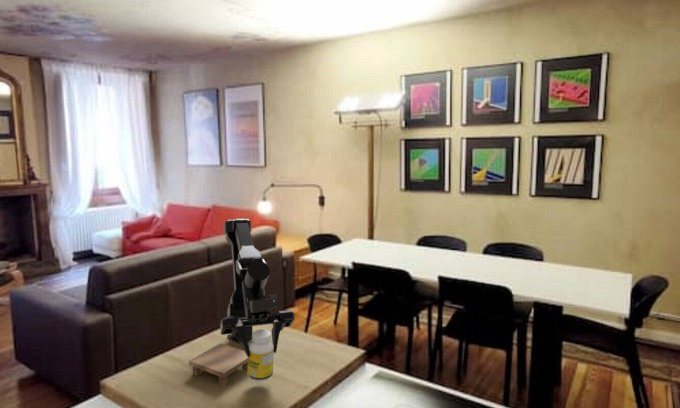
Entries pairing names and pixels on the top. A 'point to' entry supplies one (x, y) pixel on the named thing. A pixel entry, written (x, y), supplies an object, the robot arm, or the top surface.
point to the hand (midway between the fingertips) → (262, 354)
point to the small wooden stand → (220, 362)
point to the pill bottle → (260, 356)
